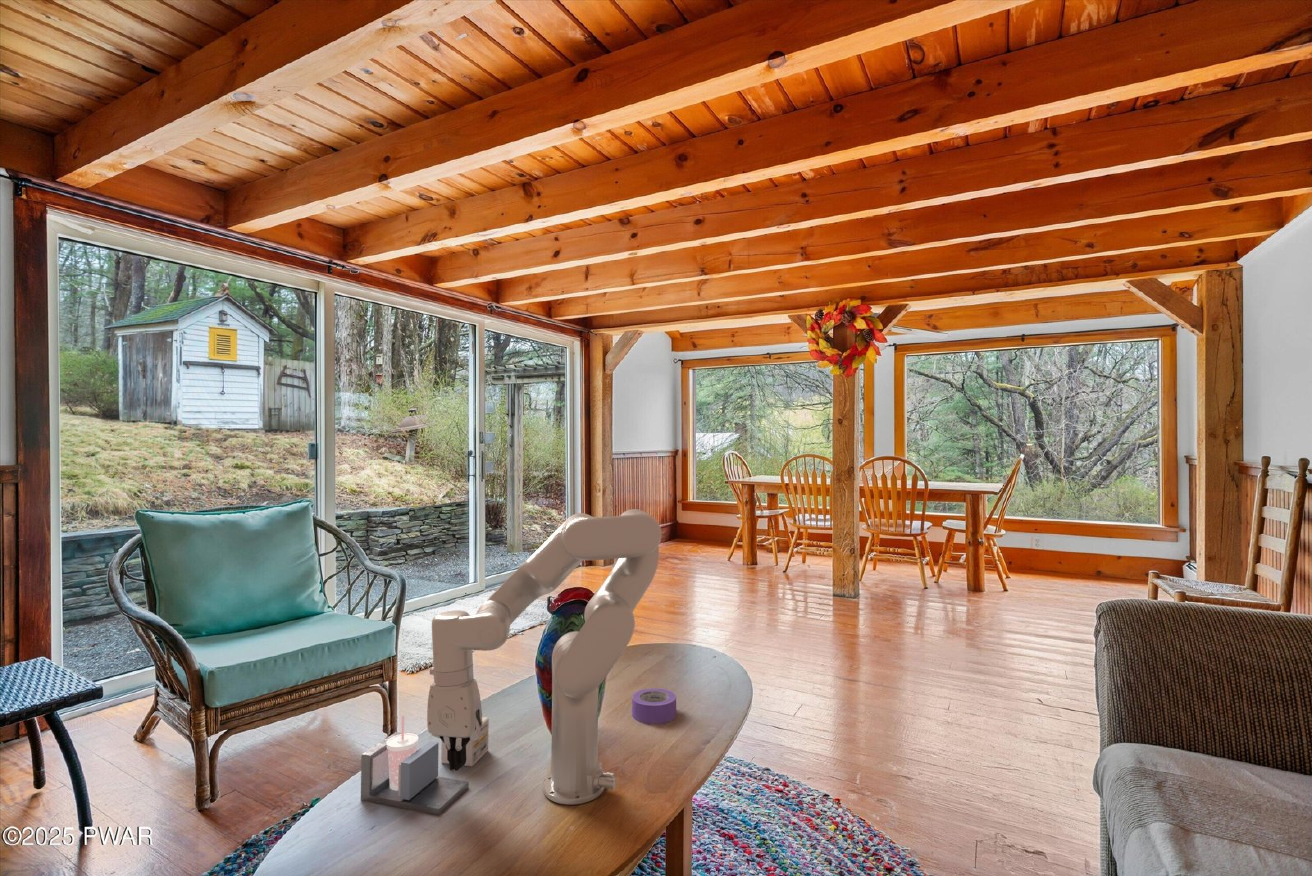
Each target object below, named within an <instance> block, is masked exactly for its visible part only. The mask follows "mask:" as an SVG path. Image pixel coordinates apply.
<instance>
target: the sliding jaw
mask: <svg viewBox="0 0 1312 876" xmlns="http://www.w3.org/2000/svg"><path fill="white" fill-rule="evenodd" d="M439 745H440V743H439V742H438V741H432V740H430V741H428V742H427V743H425V744H424V745H422V746H421V747H420V748H419V749H417V750H416V752H415V753H413V754H412V755H410V756H409V757H408V758H406V759H405V760H403V761H402V762H401V763H400V764H399V779H398V796H400V799H406V800H410V799H411V798H412V797H413V796H415V795H416V794H417V793H418V792H419V791H421V790H422V789H423V788H424V787H426V786H427V785H428V784H429V783H430V782H432V781H433V780H434V779H435V778H436V777H439Z"/></svg>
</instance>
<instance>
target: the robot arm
mask: <svg viewBox="0 0 1312 876" xmlns="http://www.w3.org/2000/svg"><path fill="white" fill-rule="evenodd" d="M662 534H663V533H662V529H661V525H660V524H659V521H658V520H656V519H655V517H653V515H652V516H651V515H650V514H649V513H647V512H646V511H644V510H642V509H639V508H638V509H637V508H636V509H635V508H632V509H627V510H626V511H623V512H622V513H621V514H620V515H616V516H615V515H614V516H611V515H610V516H592V515H590V514H587V513H583V512H579V513H578V512H577V513H575V514H572V515H571V516H569V517H568V518H567V519H566V520H564V521H563V523H561V524H560V526H558V528H556V530H555V531H553V532H552V534H550V536H549V537H548V538H547V539H546V540H545V541H544V542H543V543H542V544H541V545H540V546H539V547H538V548H537V549H536V550H535V551H534V552H533V553H532V554H531V555H530V556H529V557H528V558H527V559H526V560H525V561H524V562H523V563H522V564H521V565H520V566H519V567H518V568H517V570H516V571H514V572H513V573H512V574H511V575H510V576H509V577H508V578H507V579H506V580H505V581H504V582H503V583H502V584H501V585H500V586H499V587H498V588H497V589H496V590H495V591H493V593H492V594H491V595H490V596H489V597H488V598H487V599H486V600H485V601H484V602H483V603H482V604H481V606H480V607H479V608H478V610H477V611H476V613H475V614H474V615H470V614H469V613H468V612H467V611H465V610H459V609H458V610H457V609H456V610H447V611H444V612H440V613H439V614H436V615H435V616H434V618H432V621H431V643H432V663H433V667H431V668H430V669H429V675H431V676H433V681H432V682H431V683H430V687H429V691H428V698H427V707H426V708H427V710H426V712H427V713H426V722H427V723H426V725H427V726H426V727H427V732H428V733H429V734H431V736H432V737H435V738H437V739H440V740H441V741H443V742H444V744H445V748H446V749H447V750H448V754H449V764H448V765H449V770H450V771H457V772H458V771H459V770H460V769H462V767H463V766H464V765H465V763H466V745H467V744H468V742H469V741H475V740H478V739H479V738H480V737H481V736H482V734H481V730H480V727H481V726H482V717H483V709H482V700H481V694H480V689H479V686H478V681H477V679H476V678H475V677H474V675H475V674H474V660H473V657H474V655H473V651H484V652H485V651H486V652H487V651H495V650H497V649H499V648H501V647H502V646H504V644H505V643H506V642H507V640H508V638H509V635H510V629H511V625H512V624H513V623H514V621H516V620H517V618H519V616H520V615H521V614H522V613H523V612H524V611H525V610H526V609H527V608H528V607H529V606H531V604H532V603H534V602H535V601H536V600H537V599H539V598H541V597H543V596H546V595H548V594H551V593H552V592H553V591H555V590H556V589H558V588H559V587H560V586H561V584H563V582H565V580H566V579H567V577H569V576H570V575H571V574H572V573H573V572H574V570H575V569H576V568H578V566H580V564H582V563H583V561H605V560H615V559H617V561H616V563H615V564H614V566H613V567H612V569H611V571H610V572H609V574H608V575H607V576H606V578H605V579H604V581H603V582H602V584H601V585H600V586H599V588H598V589H597V590H596V592H595V593H594V594H593V596H592V597H591V598H590V600H589V601H588V602H587V604H586V606H585V608H584V621H585V622H584V624H583V625H582V626H581V628H580V629H579V631H577V630H575V631H569V632H567V633H565V634H563V635H561V637H560V638H559V639H558V640H557V642H556V643H555V644H554V647H553V650H552V654H551V674H552V675H551V677H552V678H551V679H552V680H551V682H552V683H551V686H552V687H551V696H552V697H551V702H552V703H551V704H552V705H551V752H550V753H551V755H550V756H551V757H550V758H551V760H550V761H551V762H550V763H551V764H550V768H551V769H550V771H551V772H550V775H548V776H547V777H546V779H544V782H543V787H542V788H543V789H542V790H543V794H544V795H545V796H546V797H545V798H547V799H549V800H550V801H552V802H554V803H557V804H561V805H567V806H568V805H571V806H572V805H581V804H585V803H588V802H591V801H593V800H595V799H596V798H598V797H600V795H602V794H603V792H604V791H605V789H609V790H615V789H616V785H617V779H616V778H615V773H614V772H609V771H604V769H603V762H599V761H598V755H599V753H598V751H599V750H598V749H599V748H598V747H599V745H598V744H599V743H598V742H599V739H598V738H599V686H600V685H601V684H602V683H603V681H604V680H605V679H606V677H607V676H608V674H609V673H610V672H611V670H612V669H613V668H614V666H615V664H617V662H618V660H619V659H620V658H621V656H622V654H623V653H624V651H625V650H626V648H627V647H628V646H629V644H630V642H631V640H632V637H633V635H634V631H635V627H636V626H635V624H636V623H635V622H636V621H635V616H634V611H635V610H636V608H637V605H638V604H639V603H640V601H641V600H642V598H643V596H644V595H645V593H646V591H647V590H648V588H649V587H650V585H651V583H652V582H653V580H654V577H655V575H656V573H657V571H658V570H657V569H658V565H659V557H660V547H659V545H660V543H661V540H662Z"/></svg>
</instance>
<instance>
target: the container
mask: <svg viewBox="0 0 1312 876" xmlns="http://www.w3.org/2000/svg"><path fill="white" fill-rule="evenodd" d="M489 723H490V722H489V717H487V716H486V717H485V716H482V726H481V727H480V730H481V734H482V736H481V737H480V738H479V739H478V740H475V741H469V742H468V744H467V745H466V763H465V765H464V766H465V767H473V766H474V765H476V763H477V762H478V761H479V760H480V759H481V758H482V757H483V756H484V755H485V754H486V753H487V752H488V751H489V725H490V724H489ZM440 747H441V749H440V750H441V754H440V757H441V758H440V762H441V764H445V765H446V764H448V765H450V764H449V754H448V750H447V749H446V748H445V744H444V742H443V741H442V740H441V745H440Z"/></svg>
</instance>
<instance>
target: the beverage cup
mask: <svg viewBox="0 0 1312 876" xmlns="http://www.w3.org/2000/svg"><path fill="white" fill-rule="evenodd" d="M400 733H401V734H399V735H396V736H393V737H391V738H390V739H388V741H387V742H386V744H387V749H388V761H389V783H390V789H392V790H396V791H397V790H398V779H399V764H400V763H401V762H402V761H403V760H405V759H406V758H408V757H409V756H410V755H412V754H413V753H415V752H416V751H417V750H418V744H419V735H417V734H416V733H411V732H409V733H407V732H406V733H405V714H402V715H401V732H400Z"/></svg>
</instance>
